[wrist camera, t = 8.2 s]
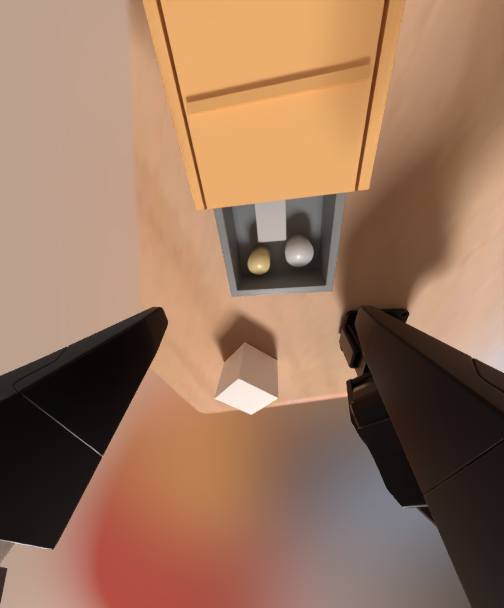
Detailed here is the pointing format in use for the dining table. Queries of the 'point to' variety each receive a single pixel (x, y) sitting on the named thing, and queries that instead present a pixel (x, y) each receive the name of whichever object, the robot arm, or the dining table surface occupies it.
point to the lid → (275, 93)
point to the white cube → (248, 380)
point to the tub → (281, 244)
